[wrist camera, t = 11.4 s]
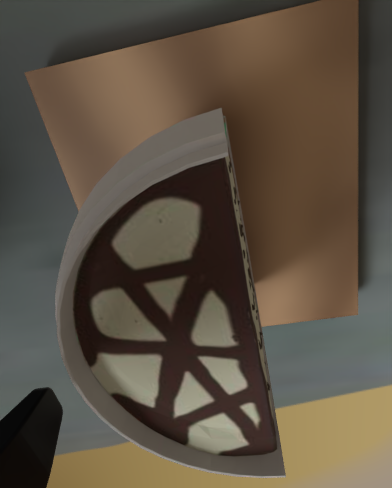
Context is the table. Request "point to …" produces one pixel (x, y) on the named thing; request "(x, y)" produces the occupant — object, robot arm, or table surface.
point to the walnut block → (240, 137)
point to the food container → (171, 306)
